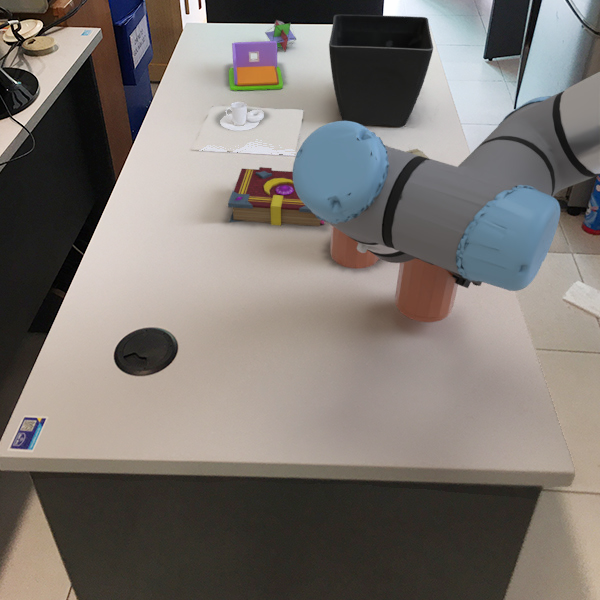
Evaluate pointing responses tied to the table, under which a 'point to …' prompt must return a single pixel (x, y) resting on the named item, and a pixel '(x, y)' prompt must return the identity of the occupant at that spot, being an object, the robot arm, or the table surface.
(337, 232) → the group cup
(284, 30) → the geometric puzzle
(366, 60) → the flower pot
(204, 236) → the table surface
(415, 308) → the loose cup
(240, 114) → the teacup and saucer
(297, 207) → the decorative book
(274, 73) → the miniature room corner
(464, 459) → the table surface
